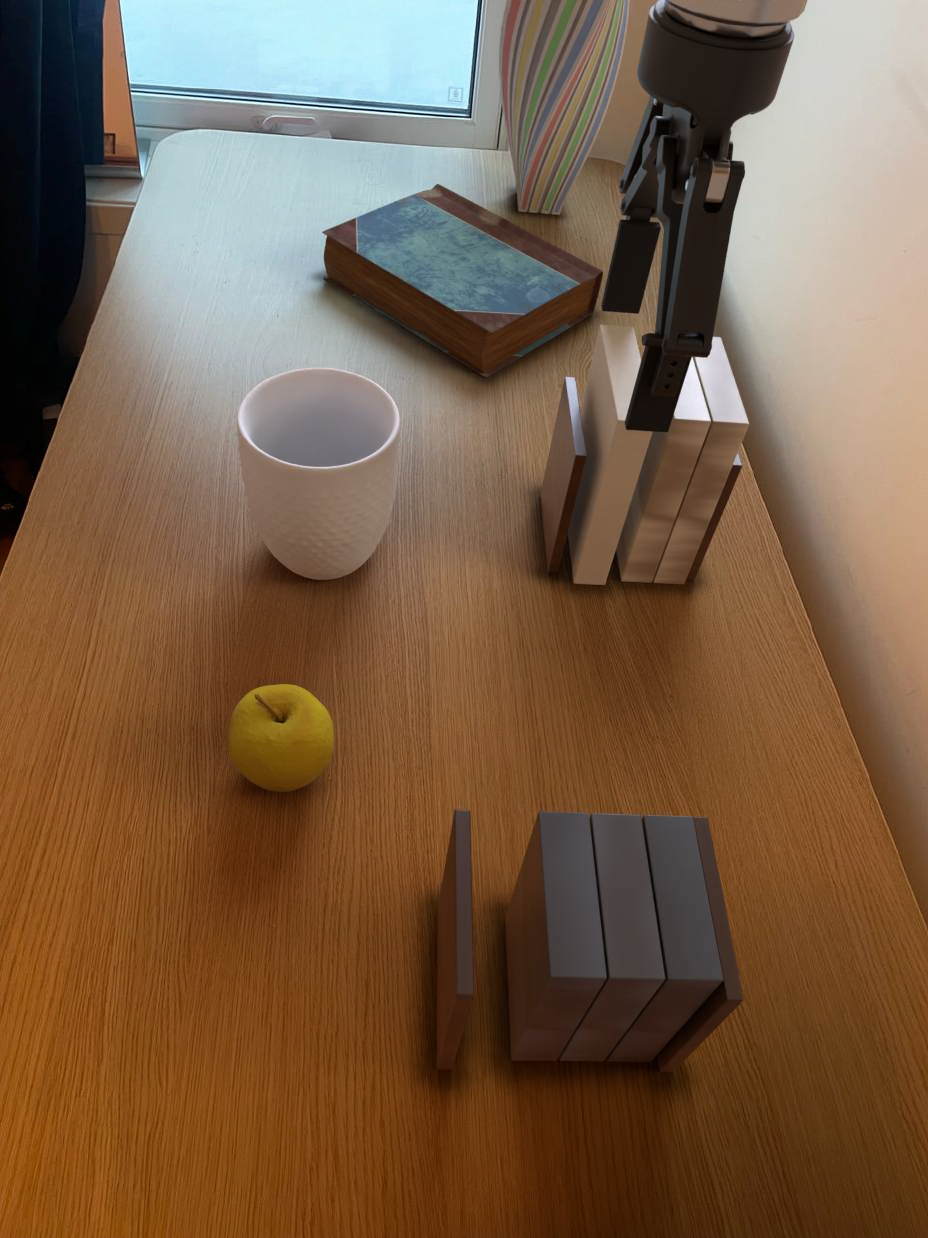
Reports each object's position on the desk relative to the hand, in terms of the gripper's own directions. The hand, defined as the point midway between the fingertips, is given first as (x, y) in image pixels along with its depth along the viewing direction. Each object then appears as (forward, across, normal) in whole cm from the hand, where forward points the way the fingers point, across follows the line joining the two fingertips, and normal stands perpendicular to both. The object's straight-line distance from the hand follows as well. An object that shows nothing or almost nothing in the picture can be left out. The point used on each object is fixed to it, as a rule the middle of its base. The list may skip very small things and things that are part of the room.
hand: (632, 365), depth 64 cm
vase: (+16, -56, 0) cm, 59 cm away
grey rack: (+17, +36, -6) cm, 40 cm away
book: (+16, -35, -10) cm, 40 cm away
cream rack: (+17, 0, +2) cm, 17 cm away
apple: (+17, +23, -22) cm, 36 cm away
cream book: (+17, 0, 0) cm, 17 cm away
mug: (+17, +2, -21) cm, 27 cm away
